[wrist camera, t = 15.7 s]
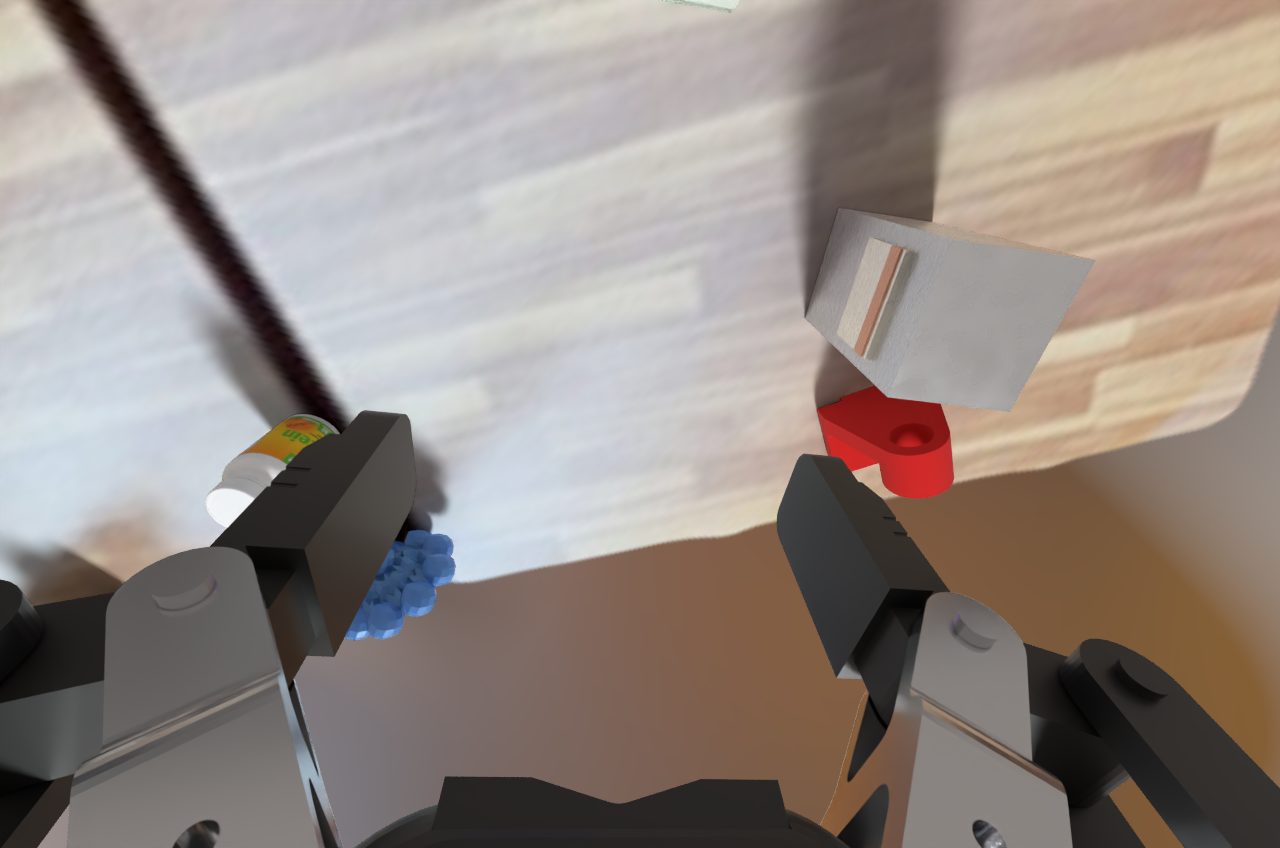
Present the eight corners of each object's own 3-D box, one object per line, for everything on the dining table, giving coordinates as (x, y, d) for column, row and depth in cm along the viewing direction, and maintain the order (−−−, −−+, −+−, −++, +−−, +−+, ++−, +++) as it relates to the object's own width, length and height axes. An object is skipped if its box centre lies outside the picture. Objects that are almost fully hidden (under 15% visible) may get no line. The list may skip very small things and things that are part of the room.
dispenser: (798, 317, 38) (878, 396, 26) (831, 206, 34) (943, 238, 22) (894, 329, 39) (1016, 412, 27) (937, 222, 35) (1103, 261, 23)
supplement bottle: (358, 439, 43) (291, 510, 34) (327, 475, 45) (256, 551, 36) (299, 400, 41) (212, 465, 32) (269, 439, 43) (179, 511, 34)
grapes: (449, 481, 45) (395, 582, 35) (487, 533, 48) (448, 639, 38) (344, 520, 47) (263, 626, 37) (387, 567, 50) (324, 677, 40)
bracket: (827, 462, 45) (875, 537, 36) (814, 405, 42) (862, 472, 33) (925, 431, 44) (999, 501, 35) (918, 371, 41) (997, 431, 32)
